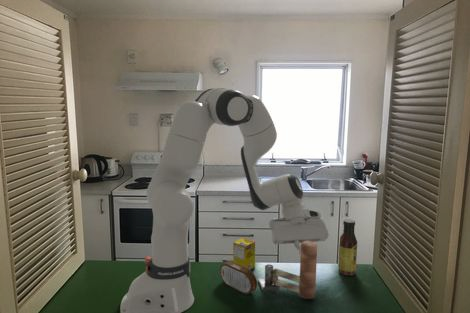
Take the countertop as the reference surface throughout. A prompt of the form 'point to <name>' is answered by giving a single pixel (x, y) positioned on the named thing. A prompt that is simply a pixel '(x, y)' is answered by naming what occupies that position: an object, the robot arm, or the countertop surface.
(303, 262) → the wooden dowel roller
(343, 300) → the countertop surface
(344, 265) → the sauce bottle
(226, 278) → the tin
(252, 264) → the supplement box
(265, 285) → the hinge post
